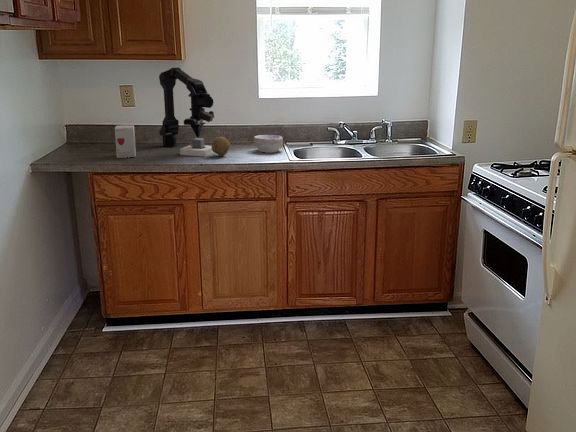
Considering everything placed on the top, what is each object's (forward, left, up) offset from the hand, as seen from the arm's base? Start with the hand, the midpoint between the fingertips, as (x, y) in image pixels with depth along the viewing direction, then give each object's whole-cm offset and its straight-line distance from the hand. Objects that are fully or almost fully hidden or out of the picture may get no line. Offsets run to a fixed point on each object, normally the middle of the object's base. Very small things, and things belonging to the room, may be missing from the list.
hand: (198, 136), depth 284 cm
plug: (0, 0, -7) cm, 7 cm away
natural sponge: (+14, -3, -9) cm, 17 cm away
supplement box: (-30, -20, -9) cm, 37 cm away
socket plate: (0, 0, -8) cm, 8 cm away
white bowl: (+32, +18, -9) cm, 38 cm away
